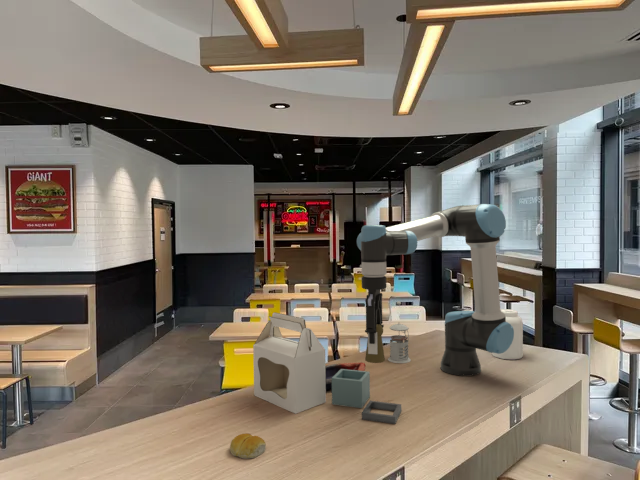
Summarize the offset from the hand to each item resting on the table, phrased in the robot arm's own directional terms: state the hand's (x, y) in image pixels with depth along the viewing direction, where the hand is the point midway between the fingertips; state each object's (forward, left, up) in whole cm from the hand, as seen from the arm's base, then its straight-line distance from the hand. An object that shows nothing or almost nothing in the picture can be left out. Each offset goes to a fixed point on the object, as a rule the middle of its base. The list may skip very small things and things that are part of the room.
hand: (374, 351), depth 139 cm
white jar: (-40, -76, -19) cm, 88 cm away
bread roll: (+25, +34, -19) cm, 47 cm away
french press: (+3, -57, -19) cm, 60 cm away
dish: (+21, -21, -19) cm, 35 cm away
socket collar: (-2, +2, -19) cm, 19 cm away
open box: (+10, -6, -19) cm, 22 cm away
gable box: (+30, -1, -19) cm, 35 cm away
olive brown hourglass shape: (0, 0, -3) cm, 3 cm away
